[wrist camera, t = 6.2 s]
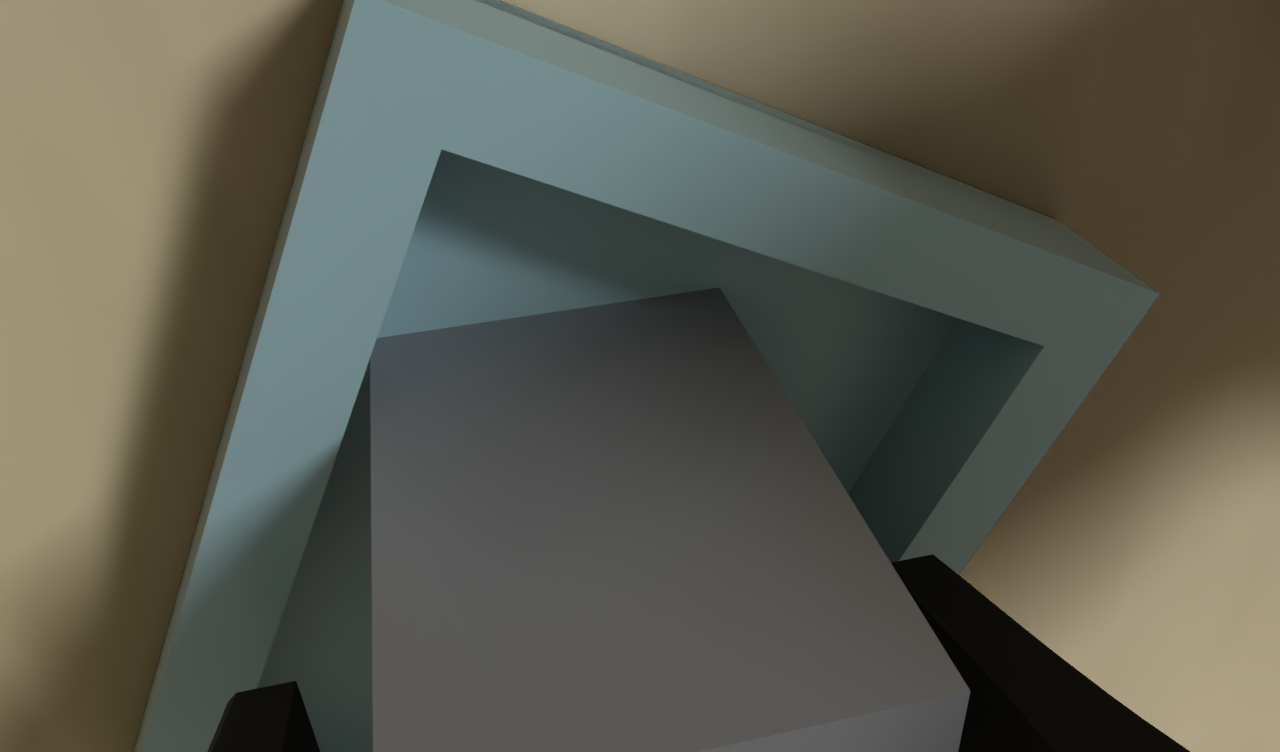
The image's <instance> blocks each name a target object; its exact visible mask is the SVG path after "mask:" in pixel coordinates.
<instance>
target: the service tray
mask: <svg viewBox="0 0 1280 752" xmlns="http://www.w3.org/2000/svg"><path fill="white" fill-rule="evenodd" d="M713 288H720V289H721V291H722V292H723V294H724V295H725V297H726V299H727V300H728V302H729V304H730V305H731V307H732V308H733V310H734V312H735V313H736V315H737V316H738V318H739V320H740V321H741V323H742V324H743V326H744V328H745V329H746V331H747V332H748V334H749V336H750V337H751V339H752V341H753V342H754V344H755V345H756V347H757V349H758V350H759V352H760V353H761V355H762V357H763V358H764V360H765V361H766V363H767V365H768V366H769V368H770V369H771V371H772V373H773V374H774V376H775V378H776V379H777V381H778V382H779V384H780V386H781V387H782V389H783V390H784V392H785V394H786V395H787V397H788V398H789V400H790V402H791V403H792V405H793V406H794V408H795V410H796V411H797V413H798V414H799V416H800V418H801V419H802V421H803V423H804V424H805V426H806V427H807V429H808V431H809V432H810V434H811V435H812V437H813V439H814V440H815V442H816V443H817V445H818V447H819V448H820V450H821V451H822V453H823V455H824V456H825V458H826V460H827V461H828V463H829V464H830V466H831V468H832V469H833V471H834V472H835V474H836V476H837V477H838V479H839V480H840V482H841V484H842V485H843V487H844V488H845V490H846V492H847V493H848V495H849V496H850V498H851V500H852V501H853V503H854V505H855V506H856V508H857V509H858V511H859V513H860V514H861V516H862V517H863V519H864V521H865V522H866V524H867V525H868V527H869V529H870V530H871V532H872V533H873V535H874V537H875V538H876V540H877V542H878V543H879V545H880V546H881V548H882V550H883V551H884V553H885V554H886V556H887V558H888V559H889V561H890V562H896V561H901V560H906V559H911V558H916V557H921V556H926V555H932V554H933V555H935V556H936V557H937V558H938V559H940V560H941V561H942V562H943V563H945V564H946V565H947V566H948V567H949V568H951V569H952V570H953V571H954V572H956V573H957V574H958V575H959V574H960V573H961V571H962V570H963V569H964V567H965V566H966V564H967V563H968V562H969V560H970V559H971V557H972V556H973V555H974V553H975V552H976V550H977V549H978V548H979V546H980V545H981V543H982V542H983V541H984V539H985V538H986V536H987V535H988V534H989V532H990V531H991V529H992V528H993V527H994V525H995V524H996V522H997V521H998V520H999V518H1000V517H1001V515H1002V514H1003V513H1004V511H1005V510H1006V508H1007V507H1008V506H1009V504H1010V503H1011V502H1012V500H1013V499H1014V497H1015V496H1016V495H1017V493H1018V492H1019V490H1020V489H1021V488H1022V486H1023V485H1024V483H1025V482H1026V481H1027V479H1028V478H1029V476H1030V475H1031V474H1032V472H1033V471H1034V469H1035V468H1036V467H1037V465H1038V464H1039V462H1040V461H1041V460H1042V458H1043V457H1044V455H1045V454H1046V453H1047V451H1048V450H1049V448H1050V447H1051V446H1052V444H1053V443H1054V441H1055V440H1056V439H1057V437H1058V436H1059V434H1060V433H1061V432H1062V430H1063V429H1064V428H1065V426H1066V425H1067V423H1068V422H1069V421H1070V419H1071V418H1072V416H1073V415H1074V414H1075V412H1076V411H1077V409H1078V408H1079V407H1080V405H1081V404H1082V402H1083V401H1084V400H1085V398H1086V397H1087V395H1088V394H1089V393H1090V391H1091V390H1092V388H1093V387H1094V386H1095V384H1096V383H1097V381H1098V380H1099V379H1100V377H1101V376H1102V374H1103V373H1104V372H1105V370H1106V369H1107V367H1108V366H1109V365H1110V363H1111V362H1112V361H1113V359H1114V358H1115V356H1116V355H1117V354H1118V352H1119V351H1120V349H1121V348H1122V347H1123V345H1124V344H1125V342H1126V341H1127V340H1128V338H1129V337H1130V335H1131V334H1132V333H1133V331H1134V330H1135V328H1136V327H1137V326H1138V324H1139V323H1140V321H1141V320H1142V319H1143V317H1144V316H1145V314H1146V313H1147V312H1148V310H1149V309H1150V307H1151V306H1152V305H1153V303H1154V302H1155V300H1156V299H1157V298H1158V296H1159V295H1160V293H1158V292H1157V291H1156V290H1154V289H1153V288H1151V287H1150V286H1149V285H1147V284H1146V283H1144V282H1143V281H1142V280H1140V279H1139V278H1138V277H1136V276H1135V275H1133V274H1132V273H1131V272H1129V271H1128V270H1127V269H1125V268H1124V267H1122V266H1121V265H1120V264H1118V263H1117V262H1115V261H1114V260H1113V259H1111V258H1110V257H1109V256H1107V255H1106V254H1104V253H1103V252H1102V251H1100V250H1099V249H1098V248H1096V247H1095V246H1093V245H1092V244H1091V243H1089V242H1088V241H1086V240H1085V239H1084V238H1082V237H1081V236H1080V235H1078V234H1077V233H1075V232H1074V231H1073V230H1071V229H1070V228H1069V227H1067V226H1066V225H1064V224H1063V223H1062V222H1060V221H1058V220H1055V219H1052V218H1050V217H1047V216H1045V215H1042V214H1040V213H1037V212H1035V211H1032V210H1030V209H1027V208H1025V207H1022V206H1020V205H1017V204H1014V203H1012V202H1009V201H1007V200H1004V199H1002V198H999V197H997V196H994V195H992V194H989V193H987V192H984V191H982V190H979V189H976V188H974V187H971V186H969V185H966V184H964V183H961V182H959V181H956V180H954V179H951V178H949V177H946V176H944V175H941V174H938V173H936V172H933V171H931V170H928V169H926V168H923V167H921V166H918V165H916V164H913V163H911V162H908V161H906V160H903V159H901V158H898V157H895V156H893V155H890V154H888V153H885V152H883V151H880V150H878V149H875V148H873V147H870V146H868V145H865V144H863V143H860V142H857V141H855V140H852V139H850V138H847V137H845V136H842V135H840V134H837V133H835V132H832V131H830V130H827V129H825V128H822V127H819V126H817V125H814V124H812V123H809V122H807V121H804V120H802V119H799V118H797V117H794V116H792V115H789V114H787V113H784V112H781V111H779V110H776V109H774V108H771V107H769V106H766V105H764V104H761V103H759V102H756V101H754V100H751V99H749V98H746V97H743V96H741V95H738V94H736V93H733V92H731V91H728V90H726V89H723V88H721V87H718V86H716V85H713V84H711V83H708V82H705V81H703V80H700V79H698V78H695V77H693V76H690V75H688V74H685V73H683V72H680V71H678V70H675V69H673V68H670V67H667V66H665V65H662V64H660V63H657V62H655V61H652V60H650V59H647V58H645V57H642V56H640V55H637V54H635V53H632V52H629V51H627V50H624V49H622V48H619V47H617V46H614V45H612V44H609V43H607V42H604V41H602V40H599V39H597V38H594V37H591V36H589V35H586V34H584V33H581V32H579V31H576V30H574V29H571V28H569V27H566V26H564V25H561V24H559V23H556V22H553V21H551V20H548V19H546V18H543V17H541V16H538V15H536V14H533V13H531V12H528V11H526V10H523V9H521V8H518V7H515V6H513V5H510V4H508V3H505V2H503V1H500V0H343V2H342V6H341V9H340V13H339V16H338V20H337V24H336V27H335V31H334V34H333V38H332V41H331V45H330V49H329V52H328V56H327V59H326V63H325V67H324V70H323V74H322V77H321V81H320V84H319V88H318V92H317V95H316V99H315V102H314V106H313V110H312V113H311V117H310V120H309V124H308V128H307V131H306V135H305V138H304V142H303V145H302V149H301V153H300V156H299V160H298V163H297V167H296V171H295V174H294V178H293V181H292V185H291V188H290V192H289V196H288V199H287V203H286V206H285V210H284V214H283V217H282V221H281V224H280V228H279V231H278V235H277V239H276V242H275V246H274V249H273V253H272V257H271V260H270V264H269V267H268V271H267V275H266V278H265V282H264V285H263V289H262V292H261V296H260V300H259V303H258V307H257V310H256V314H255V318H254V321H253V325H252V328H251V332H250V335H249V339H248V343H247V346H246V350H245V353H244V357H243V361H242V364H241V368H240V371H239V375H238V378H237V382H236V386H235V389H234V393H233V396H232V400H231V404H230V407H229V411H228V414H227V418H226V422H225V425H224V429H223V432H222V436H221V439H220V443H219V447H218V450H217V454H216V457H215V461H214V465H213V468H212V472H211V475H210V479H209V482H208V486H207V490H206V493H205V497H204V500H203V504H202V508H201V511H200V515H199V518H198V522H197V525H196V529H195V533H194V536H193V540H192V543H191V547H190V551H189V554H188V558H187V561H186V565H185V569H184V572H183V576H182V579H181V583H180V586H179V590H178V594H177V597H176V601H175V604H174V608H173V612H172V615H171V619H170V622H169V626H168V629H167V633H166V637H165V640H164V644H163V647H162V651H161V655H160V658H159V662H158V665H157V669H156V672H155V676H154V680H153V683H152V687H151V690H150V694H149V698H148V701H147V705H146V708H145V712H144V716H143V719H142V723H141V726H140V730H139V733H138V737H137V741H136V744H135V748H134V751H133V752H207V751H208V749H209V746H210V744H211V742H212V739H213V737H214V735H215V732H216V730H217V727H218V725H219V723H220V720H221V718H222V715H223V713H224V710H225V708H226V705H227V703H228V701H229V700H230V699H231V698H232V697H233V696H234V695H235V693H237V692H242V691H247V690H252V689H257V688H262V687H267V686H272V685H277V684H282V683H287V682H292V681H296V682H297V685H298V688H299V691H300V693H301V696H302V699H303V702H304V705H305V708H306V711H307V714H308V717H309V720H310V723H311V726H312V729H313V732H314V735H315V738H316V740H317V743H318V746H319V749H320V752H373V700H372V559H371V419H370V357H371V354H372V351H373V348H374V345H375V342H376V339H377V338H381V337H388V336H395V335H401V334H408V333H415V332H422V331H429V330H435V329H442V328H449V327H456V326H462V325H469V324H476V323H483V322H490V321H496V320H503V319H510V318H517V317H523V316H530V315H537V314H544V313H551V312H557V311H564V310H571V309H578V308H584V307H591V306H598V305H605V304H612V303H618V302H625V301H632V300H639V299H645V298H652V297H659V296H666V295H673V294H679V293H686V292H693V291H700V290H706V289H713Z"/></svg>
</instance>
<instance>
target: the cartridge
mask: <svg viewBox="0 0 1280 752" xmlns="http://www.w3.org/2000/svg"><path fill="white" fill-rule="evenodd" d="M370 419H371V559H372V700H373V752H958V750H959V745H960V740H961V735H962V730H963V725H964V720H965V716H966V711H967V706H968V701H969V696H970V689H969V688H968V686H967V685H966V683H965V681H964V680H963V678H962V677H961V675H960V673H959V672H958V670H957V669H956V667H955V665H954V664H953V662H952V660H951V659H950V657H949V656H948V654H947V652H946V651H945V649H944V648H943V646H942V644H941V643H940V641H939V640H938V638H937V636H936V635H935V633H934V632H933V630H932V628H931V627H930V625H929V624H928V622H927V620H926V619H925V617H924V615H923V614H922V612H921V611H920V609H919V607H918V606H917V604H916V603H915V601H914V599H913V598H912V596H911V595H910V593H909V591H908V590H907V588H906V587H905V585H904V583H903V582H902V580H901V578H900V577H899V575H898V574H897V572H896V570H895V569H894V567H893V566H892V564H891V562H890V561H889V559H888V558H887V556H886V554H885V553H884V551H883V550H882V548H881V546H880V545H879V543H878V542H877V540H876V538H875V537H874V535H873V533H872V532H871V530H870V529H869V527H868V525H867V524H866V522H865V521H864V519H863V517H862V516H861V514H860V513H859V511H858V509H857V508H856V506H855V505H854V503H853V501H852V500H851V498H850V496H849V495H848V493H847V492H846V490H845V488H844V487H843V485H842V484H841V482H840V480H839V479H838V477H837V476H836V474H835V472H834V471H833V469H832V468H831V466H830V464H829V463H828V461H827V460H826V458H825V456H824V455H823V453H822V451H821V450H820V448H819V447H818V445H817V443H816V442H815V440H814V439H813V437H812V435H811V434H810V432H809V431H808V429H807V427H806V426H805V424H804V423H803V421H802V419H801V418H800V416H799V414H798V413H797V411H796V410H795V408H794V406H793V405H792V403H791V402H790V400H789V398H788V397H787V395H786V394H785V392H784V390H783V389H782V387H781V386H780V384H779V382H778V381H777V379H776V378H775V376H774V374H773V373H772V371H771V369H770V368H769V366H768V365H767V363H766V361H765V360H764V358H763V357H762V355H761V353H760V352H759V350H758V349H757V347H756V345H755V344H754V342H753V341H752V339H751V337H750V336H749V334H748V332H747V331H746V329H745V328H744V326H743V324H742V323H741V321H740V320H739V318H738V316H737V315H736V313H735V312H734V310H733V308H732V307H731V305H730V304H729V302H728V300H727V299H726V297H725V295H724V294H723V292H722V291H721V289H720V288H713V289H706V290H700V291H693V292H686V293H679V294H673V295H666V296H659V297H652V298H645V299H639V300H632V301H625V302H618V303H612V304H605V305H598V306H591V307H584V308H578V309H571V310H564V311H557V312H551V313H544V314H537V315H530V316H523V317H517V318H510V319H503V320H496V321H490V322H483V323H476V324H469V325H462V326H456V327H449V328H442V329H435V330H429V331H422V332H415V333H408V334H401V335H395V336H388V337H381V338H377V339H376V342H375V345H374V348H373V351H372V354H371V357H370Z"/></svg>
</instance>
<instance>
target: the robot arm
mask: <svg viewBox="0 0 1280 752" xmlns="http://www.w3.org/2000/svg"><path fill="white" fill-rule="evenodd" d="M891 564H892V566H893V567H894V569H895V570H896V572H897V574H898V575H899V577H900V578H901V580H902V582H903V583H904V585H905V587H906V588H907V590H908V591H909V593H910V595H911V596H912V598H913V599H914V601H915V603H916V604H917V606H918V607H919V609H920V611H921V612H922V614H923V615H924V617H925V619H926V620H927V622H928V624H929V625H930V627H931V628H932V630H933V632H934V633H935V635H936V636H937V638H938V640H939V641H940V643H941V644H942V646H943V648H944V649H945V651H946V652H947V654H948V656H949V657H950V659H951V660H952V662H953V664H954V665H955V667H956V669H957V670H958V672H959V673H960V675H961V677H962V678H963V680H964V681H965V683H966V685H967V686H968V688H969V689H970V696H969V701H968V706H967V711H966V716H965V720H964V725H963V730H962V735H961V740H960V745H959V750H958V752H1190V751H1188V750H1187V749H1185V748H1184V747H1183V746H1181V745H1180V744H1178V743H1177V742H1175V741H1174V740H1172V739H1171V738H1170V737H1168V736H1167V735H1165V734H1164V733H1162V732H1161V731H1159V730H1158V729H1157V728H1155V727H1154V726H1152V725H1151V724H1149V723H1148V722H1146V721H1145V720H1144V719H1142V718H1141V717H1139V716H1138V715H1137V714H1135V713H1134V712H1133V711H1131V710H1130V709H1128V708H1127V707H1126V706H1124V705H1123V704H1122V703H1120V702H1119V701H1117V700H1116V699H1115V698H1113V697H1112V696H1111V695H1109V694H1108V693H1107V692H1105V691H1104V690H1103V689H1101V688H1100V687H1099V686H1098V685H1096V684H1095V683H1094V682H1092V681H1091V680H1090V679H1088V678H1087V677H1086V676H1084V675H1083V674H1082V673H1080V672H1079V671H1078V670H1077V669H1075V668H1074V667H1073V666H1071V665H1070V664H1069V663H1067V662H1066V661H1065V660H1063V659H1062V658H1061V657H1060V656H1058V655H1057V654H1056V653H1054V652H1053V651H1052V650H1051V649H1049V648H1048V647H1047V646H1046V645H1044V644H1043V643H1042V642H1041V641H1039V640H1038V639H1037V638H1035V637H1034V636H1033V635H1032V634H1031V633H1029V632H1028V631H1027V630H1026V629H1024V628H1023V627H1022V626H1021V625H1019V624H1018V623H1017V622H1016V621H1014V620H1013V619H1012V618H1011V617H1009V616H1008V615H1007V614H1006V613H1005V612H1003V611H1002V610H1001V609H1000V608H998V607H997V606H996V605H995V604H994V603H992V602H991V601H990V600H989V599H987V598H986V597H985V596H984V595H983V594H981V593H980V592H979V591H978V590H976V589H975V588H974V587H973V586H972V585H970V584H969V583H968V582H967V581H965V580H964V579H963V578H962V577H961V576H959V575H958V574H957V573H956V572H954V571H953V570H952V569H951V568H949V567H948V566H947V565H946V564H945V563H943V562H942V561H941V560H940V559H938V558H937V557H936V556H935V555H933V554H932V555H926V556H921V557H916V558H911V559H906V560H901V561H896V562H891ZM207 752H320V749H319V746H318V743H317V740H316V738H315V735H314V732H313V729H312V726H311V723H310V720H309V717H308V714H307V711H306V708H305V705H304V702H303V699H302V696H301V693H300V691H299V688H298V685H297V682H296V681H292V682H287V683H282V684H277V685H272V686H267V687H262V688H257V689H252V690H247V691H242V692H237V693H235V695H234V696H233V697H232V698H231V699H230V700H229V701H228V703H227V705H226V708H225V710H224V713H223V715H222V718H221V720H220V723H219V725H218V727H217V730H216V732H215V735H214V737H213V739H212V742H211V744H210V746H209V749H208V751H207Z"/></svg>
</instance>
